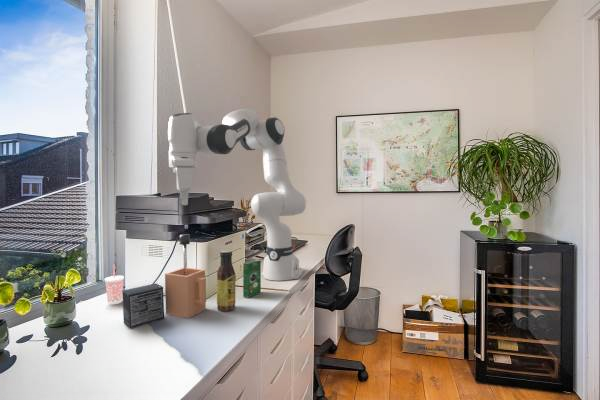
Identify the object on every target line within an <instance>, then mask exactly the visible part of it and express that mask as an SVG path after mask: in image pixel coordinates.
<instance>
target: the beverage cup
mask: <svg viewBox="0 0 600 400" xmlns="http://www.w3.org/2000/svg"><path fill="white" fill-rule="evenodd" d="M112 270H113V273H112V274H113V275H111V276H108V277H105V278H104V283H105V289H106V297H107V304H108V305H118V304H120V303H123V294H122V291H123V289H124V279H125V277H124V275H116V265H115V263H113V264H112Z"/></svg>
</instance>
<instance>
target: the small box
mask: <svg viewBox="0 0 600 400" xmlns="http://www.w3.org/2000/svg"><path fill="white" fill-rule="evenodd" d="M122 294H123V295H122V315H123V317H122V318H123V324H124V325H125V326H126V327H127V328H128V329H134V328H138V327H141V326H145V325H148V324H151V323H153V322H156V321H157V322H158V321H162V320H164V319H165V305H164V303H165V302H164V286H162V285H160V284H158V283H156V282H155V283H151V284H146V285H142V286H138V287H133V288H129V289H128V288H127V289H124V290H123V291H122Z"/></svg>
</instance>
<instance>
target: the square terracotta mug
mask: <svg viewBox="0 0 600 400" xmlns="http://www.w3.org/2000/svg"><path fill="white" fill-rule="evenodd" d="M164 284H165V285H164V286H165V287H164V293H165V296H164V297H165V315H168V316H172V317H173V316H174V317H178V318H183V319H189V318H192V317H193V316H194V315H197V314H198V313H201V312H203V311H204V310H206V309H207V306H206V304H207V278H206V269H200V268H193V267H187V276H184V267H181V268H179V269H175V270H172V271H170V272H166V273H164Z"/></svg>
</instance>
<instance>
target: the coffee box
mask: <svg viewBox="0 0 600 400" xmlns="http://www.w3.org/2000/svg"><path fill="white" fill-rule="evenodd" d="M261 262H262V261H261V259H253V260H250V261H245V262H243V263H242V264H243V266H242V267H243V269H242V274H243V280H242V281H243V284H242V286H243V290H242V291H243V294H242V297H243V298H245V299H249V298H252V297H253V296H255V295H257V294H259V293H261V282H262V281H261V278H262V277H261V276H262V275H261V272H262V271H261V267H262V266H261V265H262V264H261Z"/></svg>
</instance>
